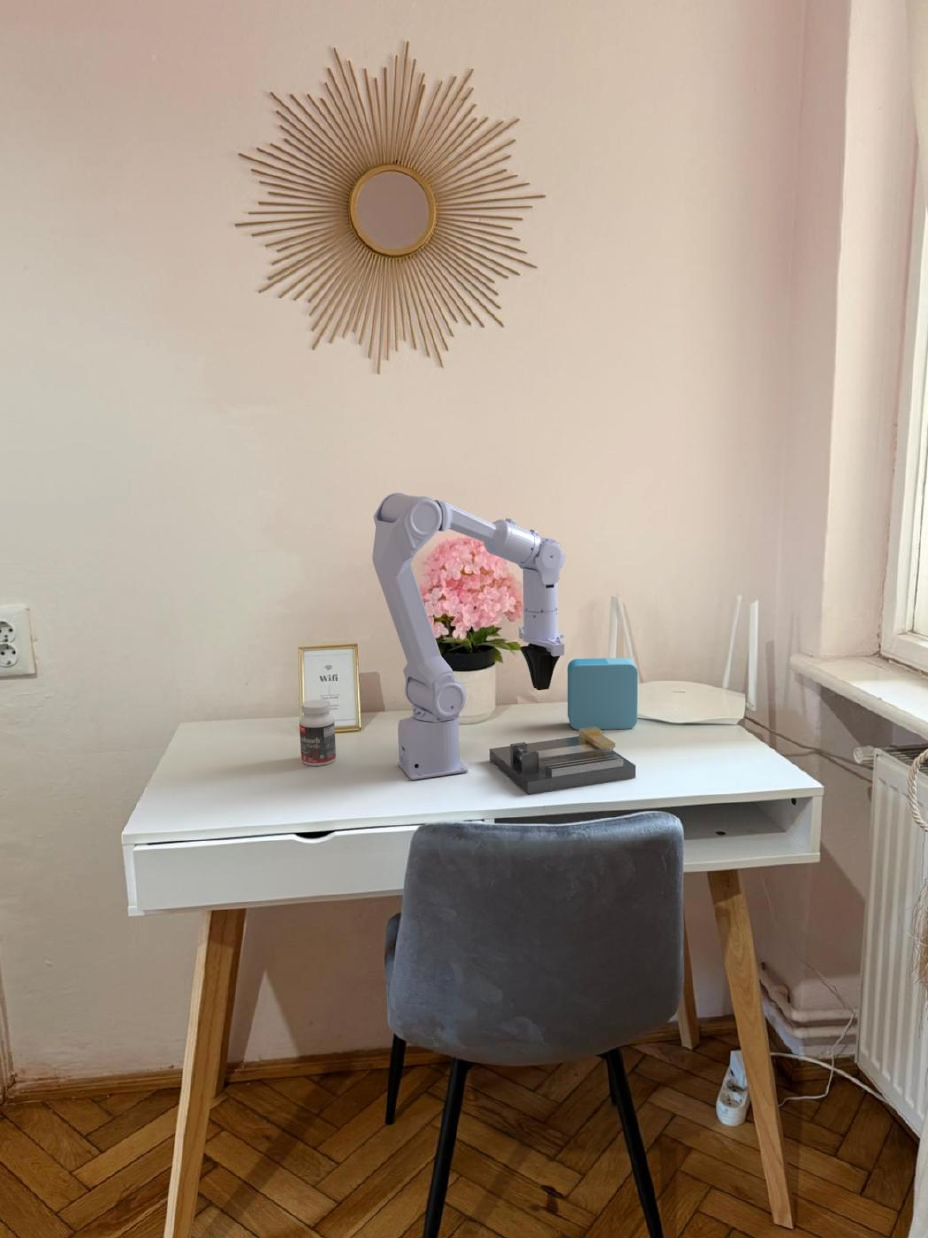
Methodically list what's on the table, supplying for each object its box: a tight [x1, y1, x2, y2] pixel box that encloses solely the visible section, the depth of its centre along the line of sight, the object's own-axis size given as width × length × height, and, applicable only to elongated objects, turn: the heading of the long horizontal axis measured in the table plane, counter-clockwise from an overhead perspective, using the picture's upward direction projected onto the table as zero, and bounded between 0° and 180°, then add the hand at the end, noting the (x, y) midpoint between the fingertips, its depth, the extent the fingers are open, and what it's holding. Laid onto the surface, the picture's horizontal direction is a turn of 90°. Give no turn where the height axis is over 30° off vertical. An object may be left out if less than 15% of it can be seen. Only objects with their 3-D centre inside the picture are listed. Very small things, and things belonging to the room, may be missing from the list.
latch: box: [578, 726, 616, 749], centre depth 159 cm, size 3×7×3 cm, turn 19°
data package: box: [567, 657, 639, 731], centre depth 179 cm, size 12×4×12 cm, turn 89°
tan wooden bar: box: [517, 743, 614, 762], centre depth 157 cm, size 15×3×1 cm, turn 109°
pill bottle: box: [299, 699, 337, 767], centre depth 165 cm, size 6×6×10 cm
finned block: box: [489, 735, 637, 796], centre depth 159 cm, size 18×16×5 cm
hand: (541, 688), depth 169 cm, fingers closed
